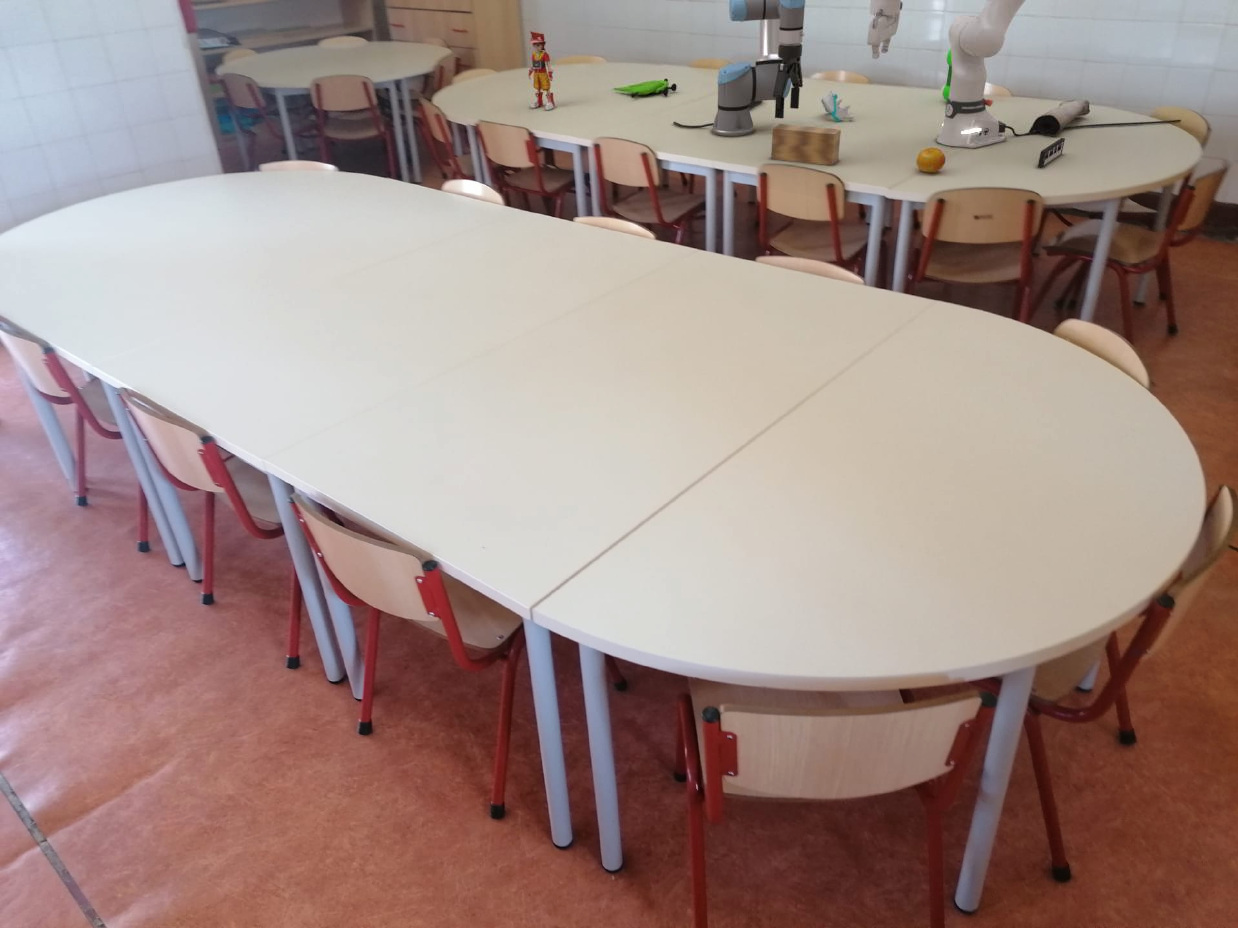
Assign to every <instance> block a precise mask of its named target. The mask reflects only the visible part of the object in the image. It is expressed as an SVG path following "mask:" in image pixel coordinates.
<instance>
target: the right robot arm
mask: <svg viewBox="0 0 1238 928" xmlns="http://www.w3.org/2000/svg"><path fill="white" fill-rule="evenodd" d="M1025 2H1026V0H986V1H985V3H984V5H983V8H982V9H981V12H980V13H979V14H978V15H975V14H965V15H961V16H958V17H956V18H955V19H954V20H953V21H952V23H951V24H950V25H949V28H948V35H947V36H948V40H949V43H950V49H951V59H952V76H951V84H950V91H949V97H948V98H947V101H946V102H945V110H944V113H945V115H944V119H943V123H942V126H941V130H940V132H939V135H938V137H937V139H936V141H937V142H938V143H939V144H941V145H943V146H950V147H959V148H960V147H961V148H971V149H977V148H980V147H985V146H988V145H993V144H997V143H1001V142H1005V140H1006V138H1005V136H1004V135H1003V133H1006V129H1009V130H1010V131H1011V132H1012V134H1013V136H1016V137H1023V136H1029V135H1032V134H1039V133H1041V132H1040V131H1033V132H1029V131H1028V132H1026V133H1022V134H1020V133H1016V131H1015V128H1013V127H1012V126H1009V125H1007V124H1006V123H1004V122H1003V121H1001V120H998V119H997V118H996V117H994V116H993V115H992V114H991V113H990V112H989V111H988V110H987V107H992V106H993V104H994V101H993V100H992V99H990V98H987V99H986V98H984V93H985V88H986V83H987V77H988V74H987V69H986V64H985V59H988V58H992V57H995V56H996V55H997V54H998V53H999V52H1000V51H1001V49H1002V48H1003V46H1004V44H1005V39H1006V37H1005V35H1006V33H1007V30H1008V29H1009V27H1010V25H1011V23H1012V21H1013V19H1014V17H1015V16H1016V14H1017V12H1018V11H1019V10H1020V8H1021V7H1022V6H1023V4H1024V3H1025ZM903 6H904V3H903V1H902V0H870V9H869V14H870V15H872V16H873V17H871V18H870V20H869V23H868V31H867V37H866V43H867V45H868V46H871V52H872V55H871V58H872V59H873V60H877V59H879V58H880V54H881V53H882V54H886V53H888V52H889V46H890V44H891V39H892V37H893V36H895V35H896V34H897V31H898V28H899V22H900V15H901V11H902V10H903ZM881 44H882V46H881ZM880 46H881V50H880ZM880 51H881V52H880ZM986 106H987V107H986ZM1181 122H1182V119H1170V120H1156V121H1137V122H1135V121H1134V122H1114V123H1113V122H1111V123H1094V124H1080V125H1069V126H1065V127H1064V128H1063V129H1062V130H1068V129H1080V128H1081V129H1082V128H1093V127H1110V126H1132V125H1133V126H1135V125H1153V124H1154V125H1155V124H1170V123H1181Z"/></svg>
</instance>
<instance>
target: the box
mask: <svg viewBox="0 0 1238 928" xmlns="http://www.w3.org/2000/svg"><path fill="white" fill-rule="evenodd" d="M771 131H772V132H771V133H772V135H771V154H770V155H771V160H777V161H779V160H780V161H789V162H799V163H807V164H808V163H809V164H816V165H825V166H833V165H835V163H837V162H839V154H840V145H841V144H840V142H841V132H842V129H840V128H828V127H818V126H806V125H796V124H784V123H779V124H777V125H776V126H773V128H772V130H771Z"/></svg>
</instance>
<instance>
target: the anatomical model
mask: <svg viewBox="0 0 1238 928" xmlns="http://www.w3.org/2000/svg"><path fill="white" fill-rule="evenodd" d="M820 99H821V100H820V101H821V104H822V106H823V108H824V110H825V112H827V113H829V114H830V115H831V116H832V118H833V120H834V121H835V122H841V121H843V120H853V119H854V118H855V116H854V115H851V114H849V113H848V110H849V109H850V108H851V105H845V106H843V107H841V106H840V104H841V102H842V101H843V98H840V99H838V94H837V93H835V92H834V91H833V90H830V92H829V94H828V95H826V96H822V97H821V98H820ZM837 99H838V100H837Z"/></svg>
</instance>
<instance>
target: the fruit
mask: <svg viewBox="0 0 1238 928" xmlns="http://www.w3.org/2000/svg"><path fill="white" fill-rule="evenodd" d="M945 163H946V155H945V153H944V151H943V150H941V149H940V148H937V147H928V148H924V149H922V150H921V151H920V152H918V155H917V157H916V166H917V168H918V169H919V170H920V171H921V172H924V173H931V174H932V173H937V172H939V171H941V169H942V168H943V167H944V166H945Z"/></svg>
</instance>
